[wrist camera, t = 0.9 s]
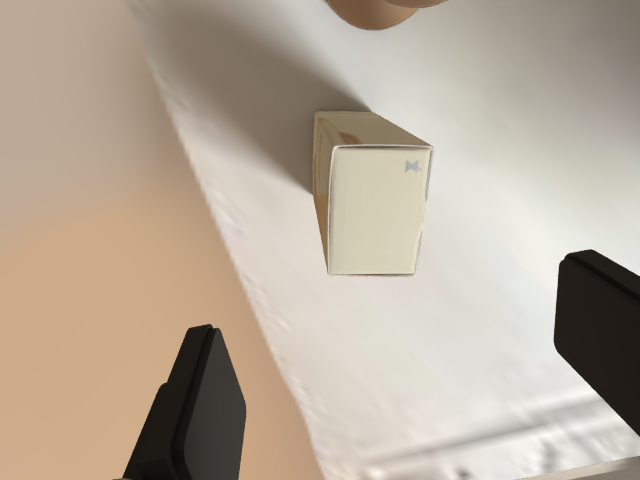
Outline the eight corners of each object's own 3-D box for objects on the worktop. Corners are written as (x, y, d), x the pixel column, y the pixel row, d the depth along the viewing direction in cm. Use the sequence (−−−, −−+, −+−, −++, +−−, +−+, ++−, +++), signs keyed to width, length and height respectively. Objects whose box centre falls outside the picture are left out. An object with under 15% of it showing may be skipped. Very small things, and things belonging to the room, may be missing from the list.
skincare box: (313, 109, 26) (329, 135, 15) (376, 111, 27) (438, 137, 16) (311, 201, 29) (325, 280, 18) (369, 201, 29) (418, 279, 18)
